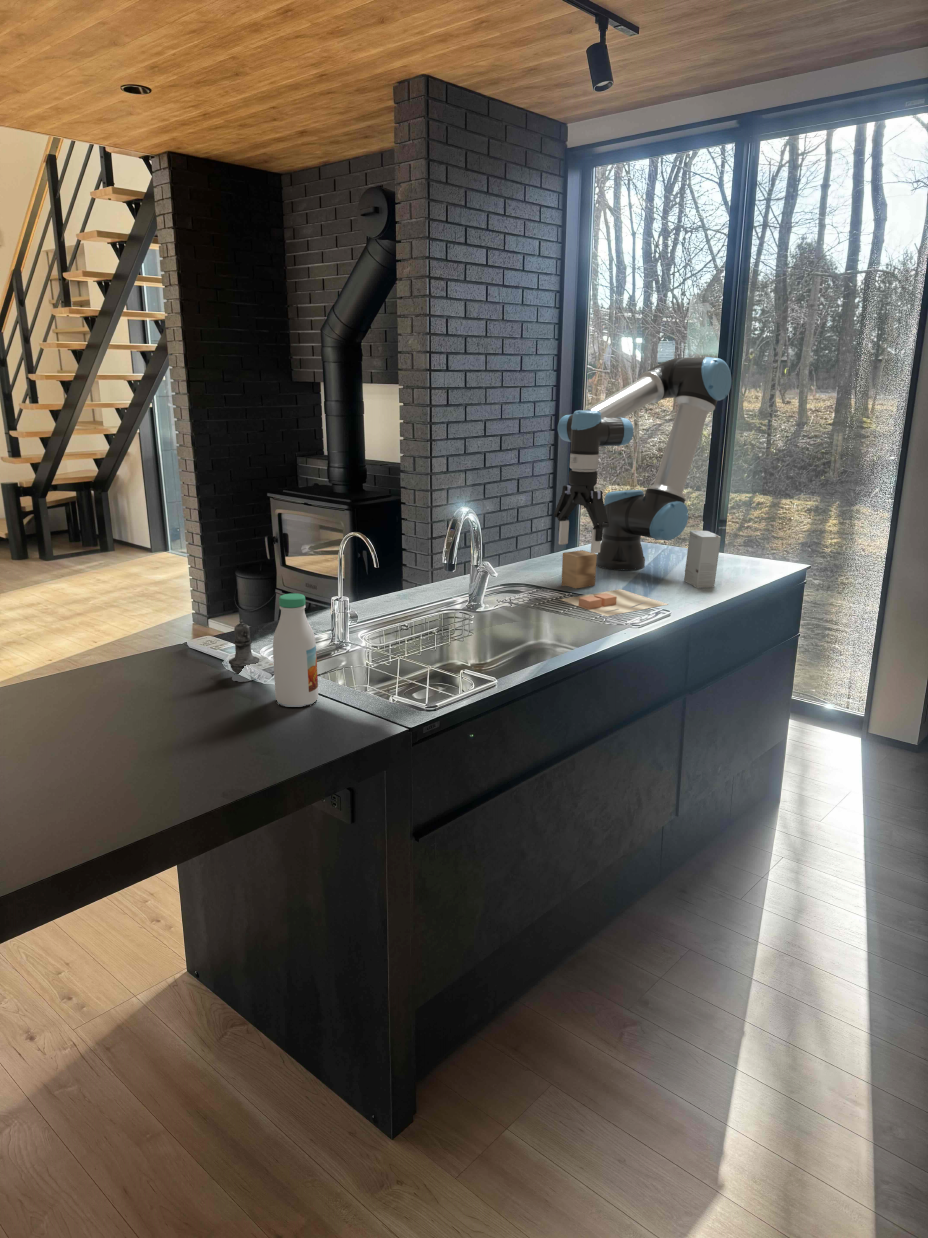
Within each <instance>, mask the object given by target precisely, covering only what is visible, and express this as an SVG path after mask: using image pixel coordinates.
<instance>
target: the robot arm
mask: <svg viewBox="0 0 928 1238" xmlns="http://www.w3.org/2000/svg"><path fill="white" fill-rule="evenodd" d="M731 388H732V374H731V371H730V367H729V365H728V364H727V362H726V361H725V360H724V359H721V358H719V357H711V356H706V357H674V358H672V359H669V360H668V359H667V360H666V361H663V362H661V363H658V364H657V365H655V366H653V367H651V368H650V369H647V370H646V371H644V372H643V373H641V374H640V375H639V377H638V379H637V380H635V381H634V382H632V383H630V384H628V385H627V386H625V387H623V388H621V389H620V390H618V391H616V392H615V393H613V394H611V395H609V396H607V397H605V398H603V399H602V400H600V401H599V402H597V403H595V404H594V405H591V406H590V407H588V408H587V409H585V410H581V409H579V410H575V411H574V412H573V413H572V414H566V415H564V416H562V417H561V418H560V419H559V421H558V424H557V433H558V436H559V438H560V439H561V440H562V441H565V442H567V443H570V455H569V468H570V469H571V470H569V471H568V484H569V485H568V484H567V485H563V486H562V491H561V495H560V497H559V499H558V502H557V505H556V508H555V511H554V513H553V517H554V518H557V520H558V545H560V546H562V545H568V543H569V528H570V519H569V518H570V515H572V513H573V511H574V509H576V508H577V506H578V505H579V506H582V507H583V508H584V509H586V511H587V512H586V513H587V514H588V516H589V519H590V521H591V524H592V525H593V527H592V528H591V541H590V552H591V553H595V554H597V557H596V567H599V568H601V569H607V570H616V571H634V570H635V571H636V570H640V569H643V568H645V566H646V564H645V562H646V558H645V556H644V549H643V545H642V541H641V538H642V537H646V538H650V539H653V540H656V541H672V540H674V539H676V538H678V537H679V536H681V534H682V533H683V532H684V530H685V529H686V526H687V524H688V521H689V508H688V507H687V505H686V504H685V503H686V497H685V495H684V493H683V491H684V488H685V485H686V482H687V480H688V477H689V476H688V475H689V473H690V469H691V467H692V463H693V460H694V458H695V454H696V451H697V448H698V446H699V445H698V444H699V442H700V439H701V435H702V434H703V433H702V432H703V429H704V427H705V423H706V420H707V418H708V414H710V413H711V412H713V411H715V410H716V406H717V404H718V403H717V402H718V401H722V400H724V399H726V397H728V395H729V394H730V390H731ZM674 398H675V402H676V403H677V406H678V408H677V411H676V413H675V417H674V420H673V422H672V427H671V429H670V431H669V432H670V433H669V435H668V438H667V442H666V444H665V448H664V451H663V454H662V457H661V460H660V464H659V467H658V469H657V473H656V477H655V479H654V483H653V484H652V485H650V486H648V487H647V488H646V490H645V492H644V490H641V489H630V490H629V489H628V490H617V491H616V490H615V491H614V490H613V491H609V492H607V493H606V494H605V495H603V494H604V493H603V490H595V487H596V485H597V484H598V471H597V469H598V468H599V459H600V458H599V454H600V447H621V446H622V447H623V446H627V445H628V444H629V443H631V441H632V439H633V437H634V425H633V423H632V421H630V419H629V418H627V417H628V416H629V415H631V414H633V413H635V412H636V411H638V410H640V409H641V408H643V407H645V406H646V405H648V404H650V403H654V404H655V403H658V402H661V401H662V400H665V399H674ZM603 496H604V497H603Z"/></svg>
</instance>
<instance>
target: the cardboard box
mask: <svg viewBox="0 0 928 1238" xmlns="http://www.w3.org/2000/svg"><path fill="white" fill-rule="evenodd" d="M597 554H598V553H591V551H588V550H587V551H586V550H583V549H582V550H574V551H565V552H562V564H561V566H562V567H561V583H560V584H561V587H563V586H567V587H570V588H573V589H579V588H580V589H581V588H587V587H593V586H596V576H597V575H596V574H597V573H596V572H597V565H596V557H597Z"/></svg>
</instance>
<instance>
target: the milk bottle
mask: <svg viewBox="0 0 928 1238" xmlns="http://www.w3.org/2000/svg"><path fill="white" fill-rule="evenodd" d="M306 602H307V601H306V596H305V595H304V594H301V593H292V592H291V593H286V594H285V593H284V594H282V595H280V596H279V597H278V605H279V607H278V608H279V610H280V617H279V620H278V624H277V626H276V628H275V631H274V634H273V641H272V655H273V676H274V679H273V680H274V692H275V693H274V695H275V696H274V697H275V701H276V700H277V701H278V702H280V703H282V704H287V705H304V704H310V703H313V702H315V701H316V700H317V699H318V700H319V680H318V678H319V676H318V675H319V673H318V659H317V658H318V657H317V655H318V654H317V653H318V652H317V644H316V643H317V641H316V636H315V633H314V630H313V628H312V626H311V625H310V622H309V620H308V618H307V615H306V611H305V610H306V609H305V608H306ZM318 700H317V701H318Z"/></svg>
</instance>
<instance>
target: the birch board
mask: <svg viewBox="0 0 928 1238" xmlns="http://www.w3.org/2000/svg"><path fill="white" fill-rule="evenodd" d="M604 593H607V594H610V595H613V596H616V597H617V599H616V604H615V605H609V606H602V605H601V607H598V608H593V609H587V608H584V607H582V606H579V598H581V597H587V596H593V597H594V595H598V594H604ZM559 600H560V601H563V602H566V603H568V604H570V605H574V606H576V607H579V608H582V609H585V610H588V611H590V612H593V613H596V614H598V615H602V616H603V617H610V616H616V615H620V614H626V613H631V612H636V611H641V610H646V609H653V608H657V607H662V606H668V605H670V604H669V603H665V602H663V601H659V600H657V599H653V598H649V597H647V596H644V595H642V594H641V595H640V594H636V593H634V592H632V591H628V590H624V589H621V588H618V589H614V590H613V589H611V590H608V591H601V592H596V593H591V594H589V593H588V594H583V595H579V596H572V597H567V598H561V599H559Z"/></svg>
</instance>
